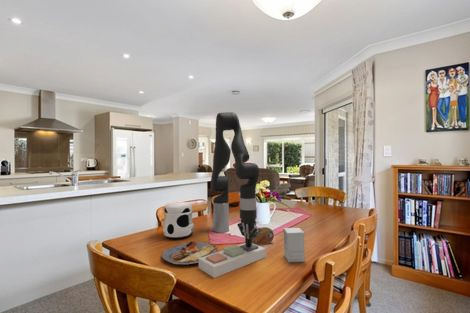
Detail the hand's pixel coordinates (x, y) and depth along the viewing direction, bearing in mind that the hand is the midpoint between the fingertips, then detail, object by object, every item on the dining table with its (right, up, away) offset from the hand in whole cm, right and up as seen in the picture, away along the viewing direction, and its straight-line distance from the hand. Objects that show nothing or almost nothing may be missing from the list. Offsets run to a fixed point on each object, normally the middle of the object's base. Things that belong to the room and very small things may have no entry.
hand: (248, 246), depth 112 cm
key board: (-7, -5, -6) cm, 10 cm away
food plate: (-27, -6, +3) cm, 27 cm away
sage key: (-7, -2, -6) cm, 9 cm away
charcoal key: (0, -3, 0) cm, 3 cm away
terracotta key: (-14, -3, -12) cm, 18 cm away
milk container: (-39, -6, +32) cm, 50 cm away
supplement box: (+20, -5, -3) cm, 20 cm away
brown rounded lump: (+6, -5, +16) cm, 18 cm away
